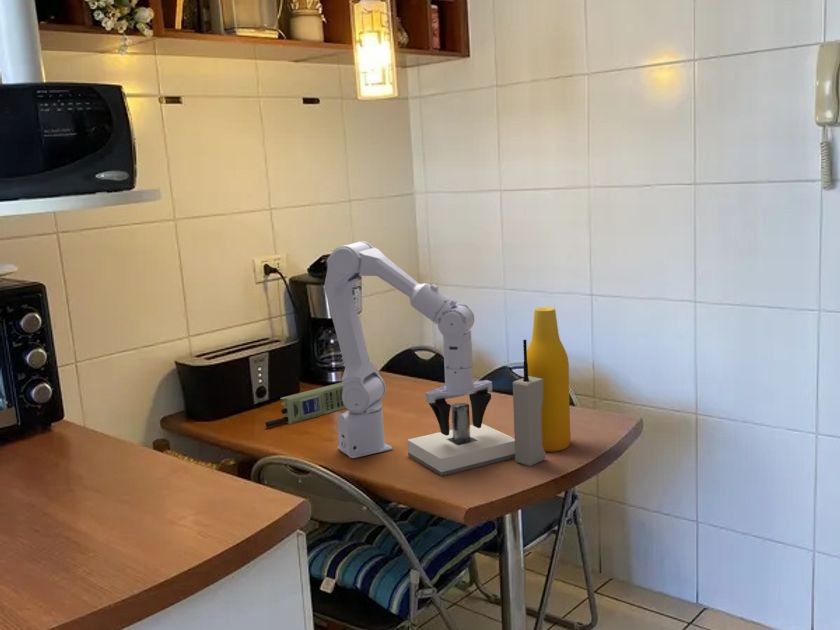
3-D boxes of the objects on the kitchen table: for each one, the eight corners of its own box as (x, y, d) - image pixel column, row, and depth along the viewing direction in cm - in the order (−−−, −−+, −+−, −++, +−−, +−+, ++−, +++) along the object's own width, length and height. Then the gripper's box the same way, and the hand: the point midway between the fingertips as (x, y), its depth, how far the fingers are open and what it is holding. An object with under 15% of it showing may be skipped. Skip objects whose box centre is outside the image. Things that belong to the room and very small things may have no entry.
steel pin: (458, 456, 170) (456, 409, 168) (450, 451, 173) (448, 404, 171) (474, 453, 171) (472, 406, 170) (465, 448, 175) (463, 401, 173)
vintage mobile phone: (545, 459, 168) (542, 337, 163) (530, 466, 164) (526, 342, 160) (531, 455, 170) (527, 335, 166) (515, 462, 167) (510, 340, 162)
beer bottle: (544, 434, 183) (541, 303, 177) (579, 443, 176) (577, 307, 171) (517, 446, 176) (512, 310, 171) (552, 455, 170) (548, 314, 164)
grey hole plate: (441, 476, 162) (440, 458, 161) (408, 455, 174) (407, 439, 174) (518, 456, 170) (518, 440, 170) (481, 438, 182) (480, 422, 182)
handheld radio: (357, 407, 212) (270, 431, 196) (349, 405, 214) (263, 429, 199) (354, 381, 211) (267, 403, 195) (347, 379, 213) (260, 401, 198)
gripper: (436, 375, 162) (440, 442, 164) (499, 363, 169) (501, 428, 171) (419, 368, 168) (422, 433, 171) (480, 357, 175) (483, 419, 177)
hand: (461, 430), depth 171 cm, fingers open, 7 cm apart
